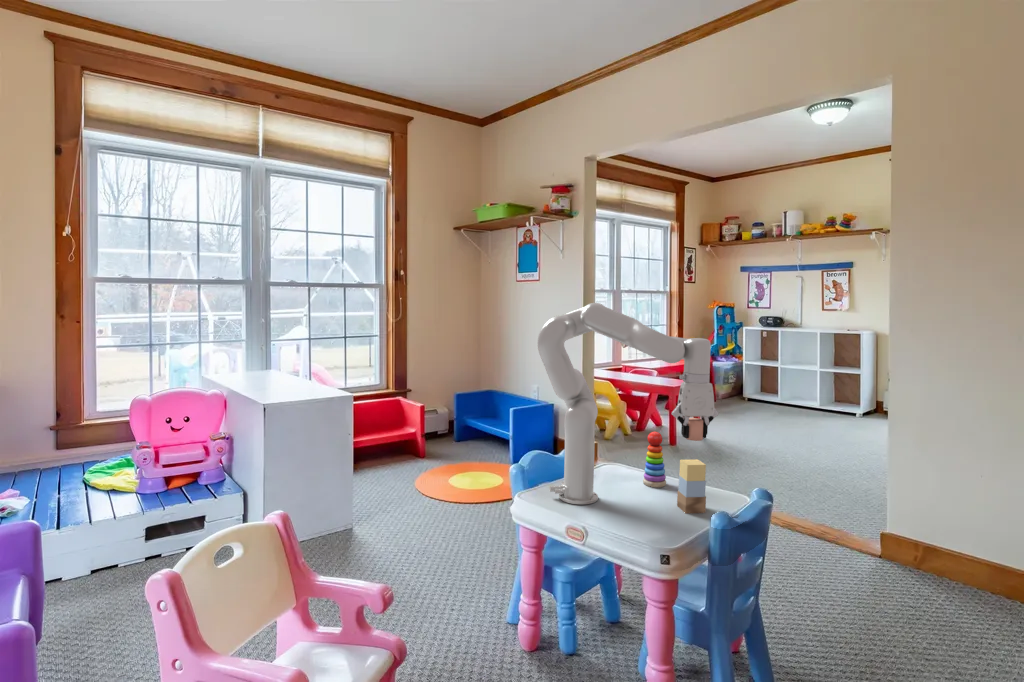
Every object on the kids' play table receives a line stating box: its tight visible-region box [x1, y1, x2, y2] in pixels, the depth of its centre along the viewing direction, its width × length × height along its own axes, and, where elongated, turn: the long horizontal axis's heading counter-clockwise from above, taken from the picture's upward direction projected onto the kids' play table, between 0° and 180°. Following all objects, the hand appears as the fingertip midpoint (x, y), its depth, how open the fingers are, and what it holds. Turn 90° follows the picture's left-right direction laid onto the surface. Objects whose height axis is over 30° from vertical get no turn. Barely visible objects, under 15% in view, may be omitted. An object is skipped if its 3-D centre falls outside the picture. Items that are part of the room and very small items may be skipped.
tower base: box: [676, 490, 707, 514], centre depth 182 cm, size 6×6×5 cm
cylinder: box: [685, 417, 704, 442], centre depth 181 cm, size 5×5×6 cm
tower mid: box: [678, 474, 707, 497], centre depth 182 cm, size 6×6×5 cm
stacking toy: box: [642, 431, 667, 488], centre depth 205 cm, size 8×8×19 cm
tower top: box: [679, 458, 707, 481], centre depth 182 cm, size 6×6×5 cm
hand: (694, 436), depth 181 cm, fingers closed on cylinder, 4 cm apart
